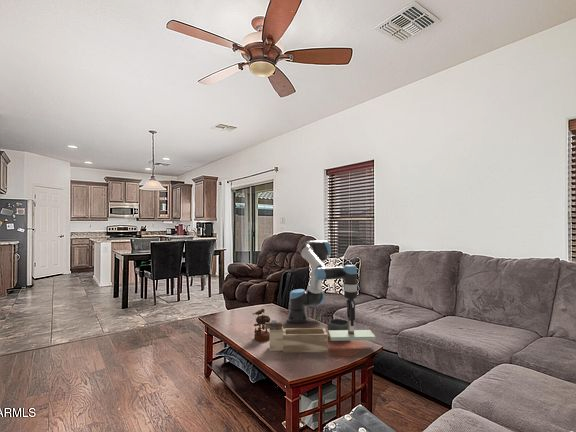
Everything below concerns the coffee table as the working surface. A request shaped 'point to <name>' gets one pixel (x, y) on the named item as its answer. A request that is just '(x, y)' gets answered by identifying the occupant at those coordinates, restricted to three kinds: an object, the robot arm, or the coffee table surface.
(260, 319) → the music box
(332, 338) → the lid
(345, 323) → the bowl
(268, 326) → the tan wooden beam
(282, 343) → the toolbox
